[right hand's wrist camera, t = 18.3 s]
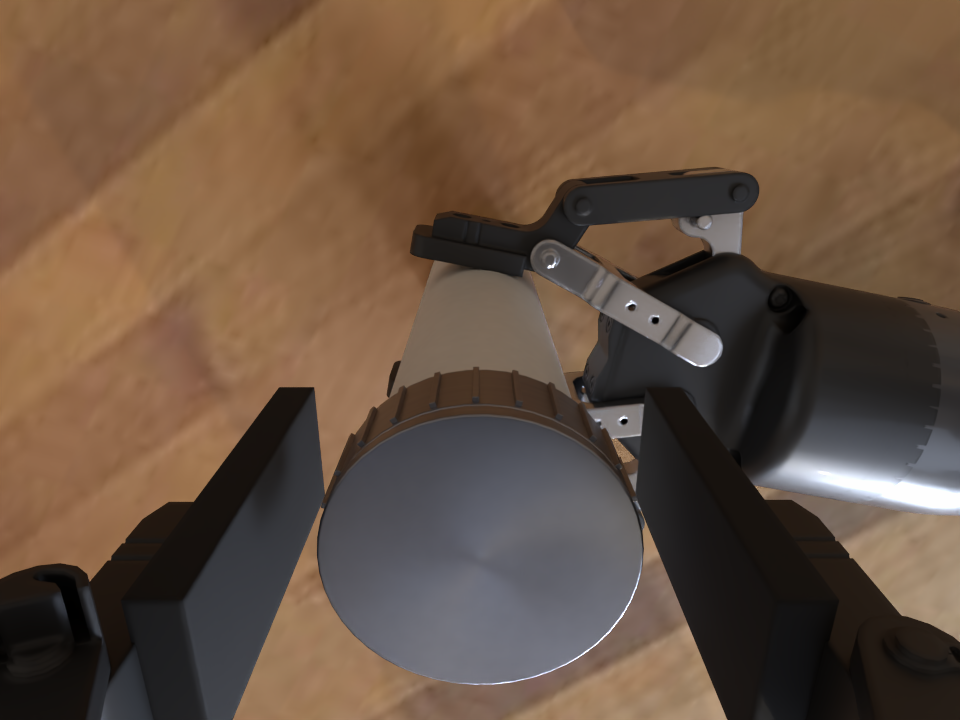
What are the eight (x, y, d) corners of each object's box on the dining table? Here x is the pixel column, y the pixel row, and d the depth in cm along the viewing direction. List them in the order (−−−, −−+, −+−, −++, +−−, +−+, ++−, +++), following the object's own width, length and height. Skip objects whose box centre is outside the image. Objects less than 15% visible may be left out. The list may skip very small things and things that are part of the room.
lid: (623, 351, 11) (650, 395, 9) (626, 603, 13) (648, 678, 11) (312, 376, 11) (282, 425, 10) (360, 621, 13) (342, 698, 11)
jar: (409, 291, 28) (302, 553, 11) (470, 210, 27) (454, 366, 10) (489, 349, 29) (501, 671, 12) (551, 273, 28) (662, 513, 11)
